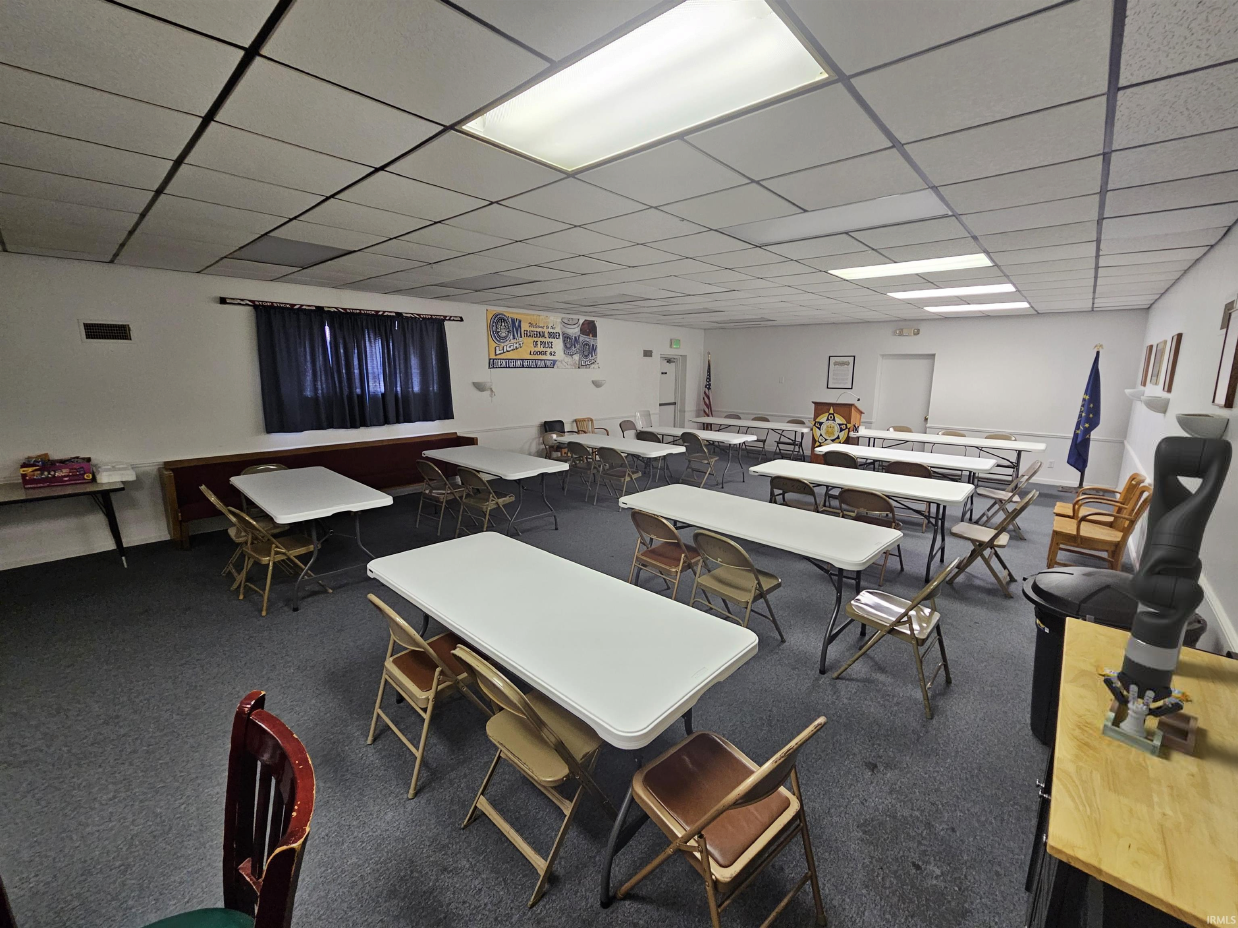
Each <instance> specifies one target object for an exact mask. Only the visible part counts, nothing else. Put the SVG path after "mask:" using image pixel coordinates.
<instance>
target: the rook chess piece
mask: <svg viewBox="0 0 1238 928" xmlns="http://www.w3.org/2000/svg"><path fill="white" fill-rule="evenodd" d="M1128 707H1129V708H1130V710H1128V709H1127V714H1128V713H1129V714H1128V717H1127V716H1126V718H1127V719H1125V720H1123V722H1120V724H1119V727H1118V728H1119V729H1121V730H1124V731H1126V732H1129V733H1131V734H1134V735H1136V736H1139V737H1141V738H1144V739H1146V740H1148V739H1147V736H1148V733H1147V731H1146V729H1145V725H1144V719H1145V718H1146V719H1147V717H1146V716H1145V714H1147V713H1149V711H1148V710H1147V706H1144V704H1143V703H1142V702H1141V703H1139V701H1138V702H1137V701H1135V703H1134V701H1131V703H1129V704H1128Z"/></svg>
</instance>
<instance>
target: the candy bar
mask: <svg viewBox="0 0 1238 928" xmlns="http://www.w3.org/2000/svg"><path fill="white" fill-rule="evenodd" d="M1095 672H1096V673H1097V674H1098V675H1102V676H1104V677H1105V676H1106V675H1109V676H1117V674H1118V673H1119V672H1120V671H1118V670H1115V669H1114V670H1113V669H1112V668H1111V669H1110V668H1106V667H1102V666H1101V665H1098V664H1096V669H1095ZM1170 688H1171V687H1170ZM1171 690H1172V695H1173V696H1174V697H1175V698H1176V699H1177V700H1181V701H1183V702H1187V701H1190V700H1191V698H1190V696H1189V695H1188V693H1187V691H1186V690H1184V691H1182V690H1179V689H1175V688H1171Z"/></svg>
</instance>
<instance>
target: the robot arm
mask: <svg viewBox="0 0 1238 928" xmlns="http://www.w3.org/2000/svg"><path fill="white" fill-rule="evenodd" d="M1154 451H1155V452H1154V456H1153V480H1152V481H1153V486H1152V487H1153V488H1152V493H1151V499H1150V502H1149V506H1148V507H1149V508H1148V512H1147V520H1146V534H1145V535H1146V536H1145V541H1144V544H1143V547H1142V553H1141V555H1140V559H1139V563H1138V564H1139V565H1138V569H1137V570H1136V572H1135V573H1134V575H1132V577H1131V579H1130V580H1129V582H1128V591H1129V594H1130V595H1131V596H1132V598H1133V599H1134V600H1136V601H1138V606H1137V610H1136V613H1135V615H1134V618H1133V621H1132V622H1133V623H1132V626H1131V632H1130V635H1129V638H1128V640H1127V641H1126V647H1125V649H1124V651H1125V652H1124V655H1123V661H1122V665H1121V670H1120V671H1118V672H1119V673H1118V674H1117V676H1109V675H1106V676H1105V675H1104V678H1103V680H1102V682H1103V683H1104V685H1105V686H1106V688H1107V689H1108V690H1109V692H1110V693H1111V694H1112V696H1113V698H1114V697H1115V699H1116V700H1117V701H1118V703H1119V704H1120V706H1125V707H1126V708H1127V711H1128V710H1130V708H1129V707H1128V704H1129V703H1131V701H1134V703H1135V701H1137V702H1138V703H1139V700H1142V701H1141V703H1143V704H1144V706H1147V710H1148V711H1149V713H1147V714H1145V716H1146V718H1145V719H1144V726H1145V725H1146V721H1147V717H1149V716H1151V717H1153V718H1156V719H1157V718H1158V719H1159V717H1162V716H1165V715H1168V714H1171V713H1174V712H1178V711H1181V712H1182V711H1183V710H1184V706H1185V703H1184V702H1185V701H1183V700H1179V699H1176V698H1175V697H1174V696H1173V695H1172V690H1171V685H1172V680H1173V675H1174V674H1175V673H1176V671H1177V668H1178V664H1179V660H1180V655H1181V651H1182V646H1183V644H1184V643H1183V642H1184V639H1185V634H1186V630H1187V627H1188V621H1189V619H1190V617H1191V616H1192V615H1193V613H1194V612H1195V611H1196V610H1197V609H1198V608H1199V607H1200V606H1201V604H1202V603H1203V601H1204V598H1205V591H1204V589H1203V587H1202V586H1201V585H1200V584H1199V581H1200V577H1201V574H1202V570H1203V562H1202V560H1201V558H1200V557H1199V555H1200V552H1201V547H1202V542H1203V537H1204V534H1205V531H1206V527H1207V525H1208V522H1209V520H1210V518H1211V515H1212V513H1213V511H1214V508H1215V506H1216V504H1217V501H1218V499H1219V496H1220V494H1221V492H1222V489H1223V486H1224V483H1225V481H1226V478H1227V476H1228V472H1229V469H1230V467H1231V463H1232V458H1233V445H1232V443H1231V442H1230V441H1229V440H1227V439H1224V438H1214V437H1213V438H1212V437H1199V436H1182V435H1174V436H1173V435H1170V436H1168V435H1167V436H1165V437H1163V438H1162V439H1160V441H1159V442H1158V443H1157V445H1156V447H1155V450H1154ZM1178 477H1182V478H1190V479H1200V480H1201V483H1200V485H1199V486H1198V488H1197V489H1196V490H1195V492H1194V493H1193V492H1192V491H1191V490H1190V489H1188V488H1187V487H1186V486H1185V485H1184V484H1183V483H1182V481H1181V480H1180V479H1179V478H1178ZM1120 684H1121V685H1122V687H1123V688H1124V692H1126V694H1128V697H1126V695H1125V694H1123V692H1122V691H1121V689H1120V688H1119V685H1120ZM1166 699H1167V700H1166ZM1163 700H1166V704H1163V703H1162V704H1163V705H1162V704H1160V705H1158V706H1155V707H1151V705H1152V704H1155V703H1159V702H1163ZM1128 714H1129V713H1128V712H1127V714H1126V719H1127V717H1128ZM1126 719H1125V720H1126Z"/></svg>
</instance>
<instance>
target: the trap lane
mask: <svg viewBox="0 0 1238 928" xmlns="http://www.w3.org/2000/svg"><path fill="white" fill-rule="evenodd" d="M1118 687H1119V688H1120V689H1121V691H1122V692H1123V694H1124V693H1125V690H1124V688H1123V687H1122V685H1121V684H1120V683H1119V685H1118ZM1124 695H1125V694H1124ZM1166 701H1167V700H1166V699H1164V700H1162V704H1161V705H1163V704H1166ZM1120 706H1121V704H1119V703H1118V701H1117V700H1116V699H1115V697H1114V696H1113V700H1112V703H1111V706H1110V708H1109V710H1108V713H1107V715H1106V718H1105V720H1104V723H1103V726H1102V730H1101V735H1104V736H1106V737H1108V738H1111V739H1114V740H1115V741H1118V742H1119V743H1123V744H1126V745H1127V746H1130V747H1132V748H1134V749H1137V750H1140V751H1142V752H1144V753H1147V754H1149V755H1151V756H1153V757H1156V758H1158V755H1159V751H1160V747H1161V745H1163V746H1164V747H1168V748H1170V749H1171V750H1175V751H1177V752H1179V753H1183V754H1185V755H1187V756H1189V757H1192V756H1193V752H1194V748H1195V743H1196V742H1195V740H1196V734H1197V727H1198V720H1199V718H1198V717H1197V716H1195V715H1191V714H1188V713H1185V712H1182V710H1181V711H1178V712H1174V713H1171V714H1168V715H1165V716H1162V717H1158V721H1157V725H1156V730H1155V733H1154V736H1153V741H1151V740H1150V739H1149V740H1148V739H1147V740H1146V739H1144V738H1141V737H1139V736H1136V735H1134V734H1131V733H1129V732H1126V731H1124V730H1121V729H1119V727H1116V726H1115V725H1113V724H1114V721H1115V718H1116V716H1117V713H1118V710H1119V708H1120Z"/></svg>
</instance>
